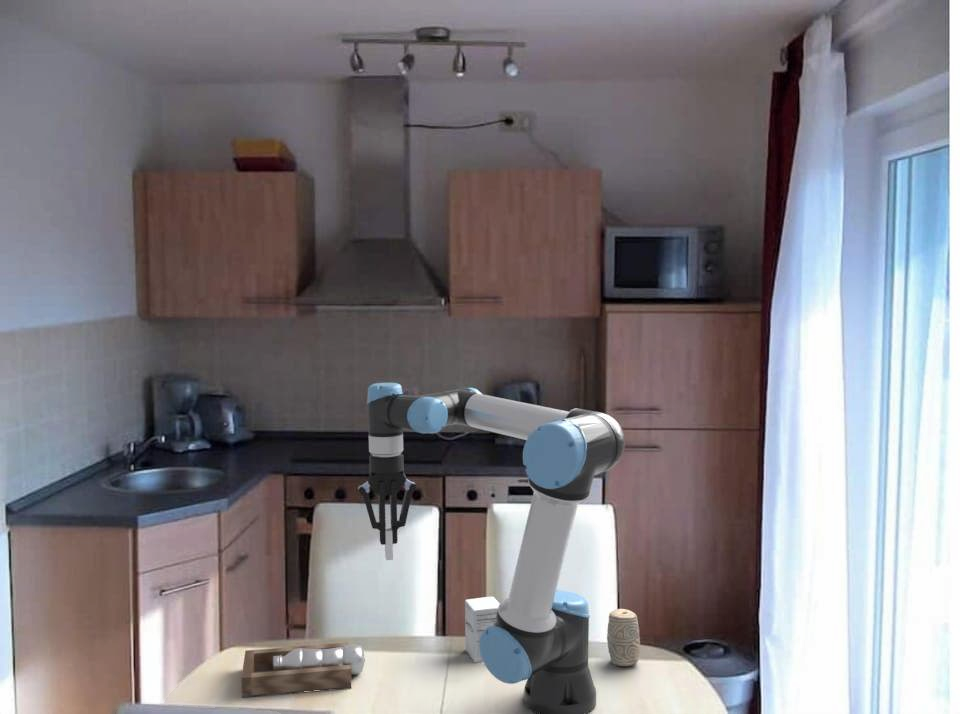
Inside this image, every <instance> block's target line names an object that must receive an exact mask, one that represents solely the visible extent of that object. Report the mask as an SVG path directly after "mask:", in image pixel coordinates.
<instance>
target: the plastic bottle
mask: <svg viewBox="0 0 960 714" xmlns="http://www.w3.org/2000/svg"><path fill="white" fill-rule="evenodd" d="M365 658H366V656H365V653H364V649H363V646H362V645H360V644H355V643H351V644H348V645H346V646H343V647H337V648H331V649H306V648H303V649H302V648H297V649H294V650H292V651H291V652H289V653H288V654H287V655H286V656H283V657H282V655H280V656H273V671H283V670H295V669H307V668H319V667H331V666H343V665H351V676H355V675H359V674H361V673H362V672H363V669H364V666H365V663H366V659H365Z"/></svg>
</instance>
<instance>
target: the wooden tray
mask: <svg viewBox="0 0 960 714" xmlns="http://www.w3.org/2000/svg"><path fill="white" fill-rule="evenodd" d="M346 645H349V642H338V643H337V642H335V643H326V644H325V643H324V644H314V645H313V644H312V645H300V646H299V645H298V646H288V647H286V646H285V647H273V648H272V647H271V648H263V649H251V650H249V649H246V650H245V652H244V658H243V666H242V672H241V678H240V679H241V698H242V699H246V698H255V697H256V698H257V696H258V697H268V695H269V696H278V695H289V693H292V694H299V693H298V692H303V693H305V692H304V691H314V690H326V691H330V690H329V689H337V690H345V689H344V688H349V689H352V675H351V665H343V666H331V667H319V668H307V669H295V670H283V671H273V656H280V655H282V657H283V656H286V655H287V654H288V653H289V652H291V651H292V650H294V649H297V648H302V649H303V648H306V649H331V648H337V647H343V646H346Z"/></svg>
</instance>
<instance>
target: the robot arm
mask: <svg viewBox="0 0 960 714" xmlns="http://www.w3.org/2000/svg"><path fill="white" fill-rule="evenodd" d="M402 388H403V387H402V385H401V384H400V383H397V382H377V383H376V382H375V383H373V384H371V385H369V386H368V388H367V401H366V405H367V426H368V428H367V429H368V430H367V431H368V452H369V453H370V454H369V456H368V461H369V474H368V476H367V479H366V480H367V481H366V482H364V483H363V484H359V485H358V487H357V489H358V492H359V493H360V495H361V496H362V497H363V500H364V504H365V507H366V510H367V514H368V517H369V518H368V519H369V521H370V525H371V527H372V528H371V529H374V530H379V542H380V544H381V546H382V545H384V557H385V560H386V561H393V560H394V547H393V546H394V544H395V545H396V544H397V543H398V530H399V529H400V528H402V527H403V528H404V527H405V526H406V523H407V518H408V514H409V509H410V505H411V501H412V495H413V493H414V492H415V490H416V489H417V485H416V483H415V481H411V480H409V479H408V478H407V476H406V474H405V468H404V467H405V466H404V465H405V463H404V461H405V460H404V457H405V456H404V454H403V453H402V452H403V451H404V431H408V432H415V433H418V434H419V433H420V434H424V435H425V434H437V433H439V432H440V431H441V430H442V429H444V428H446V427H449V426H453V425H461V426H466V427H470V428H473V429H474V428H475V429H479V430H483V431H487V432H492V433H495V434H500V435H504V436H509V437H513V438H516V439H521V440H525V443H524V447H523V450H522V464H523V466H525V468H526V469H525V473H526V475H527V477H528V482H527V483H528V485H529V487H530V489H532V491H533V494H532V498H531V502H530V506H529V511H528V516H527V519H526V524H525V527H524V528H525V529H524V531H523V536H522V541H521V545H520V548H519V552H518V557H517V561H516V565H515V569H514V573H513V578H512V582H511V586H510V591H509V593H508V597H507V598H505V599H502V601H500V602H499V603H500V604H499V607H498V611H497V615H496V619H495V623H494V625H493V626H489V627H487V628H486V630H484V631H483V632H482V634H481V636H480V639H479V651H480V655H481V658H482V660H483V661H482V662H483V663H484V666H485V668H486V669H487V670H488V672H489V673H490V674H491V675H492V676H493V677H494V678H496V679H497V680H498V681H500V682H502V683H505V684H508V685H509V684H510V685H513V684H518V683H520V682H523V681H525V685H524V689H523V703H524V704H525V706H526V707H527V708H528V709H530V711H533V712H535V713H536V714H538V713H540V714H588V713H589V711H590V712H591V711H593V710H594V709H595V707H596V705H597V691H596V687H595V684H594V680H593V676H592V674H591V671H590V667H589V637H590V636H589V634H590V633H589V627H590V623H589V622H590V614H589V602H588V601H587V599H586V598H585V597H584V596H582V595H580V594H578V593H576V592H571V591H567V590H561V589H560V590H559V589H557V588H558V584H559V580H560V577H561V574H562V573H561V572H562V568H563V564H564V561H565V557H566V553H567V550H568V545H569V541H570V538H571V533H572V531H573V530H572V529H573V525H574V521H575V517H576V513H577V509H578V505H579V504H580V503H582V502H584V501H585V500H587V499H588V498H589V496H590V492H591V488H592V485H593V481H594V476H596V475H599V474H602V473H606V472H607V471H609V470H611V469H612V468H614V467H615V466H616V465H617V464H618V463H619V462H620V460H621V459H622V457H623V454H624V451H625V446H626V439H625V435H624V431H623V429H622V427H621V425H620V423H618V421H617V420H616V419H615V418H614V417H612V416H611V415H608V414H606V413H604V412H600V411H593V410H588V409H583V408H577V407H576V408H573V409H570V411H567V410H562V409H557V408H552V407H548V406H547V407H546V406H542V405H538V404H532V403H527V402H522V401H517V400H512V399H506V398H504V397H503V398H501V397H499V396H498V397H497V396H494V395H493V396H492V395H488V394H483V393H482V392H480V391H479V390H478V389H477V388H474V387H460V388H457V389H453V390H445V391H442V392H435V393H426V394H423V395H409V394H404V392H403V389H402ZM403 486H404V490H405V491H404V495H403V499H402V504H401V509H400V512H399V513H400V514H399V517H398V507H397V506H398V503H397V501H398V500H397V499H398V497H397V496H398V495H397V494H399V492H400V491H401V490H402V488H403ZM370 487H371V488H372V490H373V491H374V492H375V494H376V495H377V498H378V521H377V519H376V516H375V513H374V509H373V508H374V507H373V506H372V500H371V498H370V496H369V493H370ZM386 496H389V507H390V527H386Z"/></svg>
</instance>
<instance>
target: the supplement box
mask: <svg viewBox="0 0 960 714" xmlns="http://www.w3.org/2000/svg"><path fill="white" fill-rule="evenodd" d="M464 603H465V604H464V605H465V607H464V610H465V615H464V616H465V618H464V619H465V621H464V623H465V625H464V626H465V628H464V629H465V631H464V632H465V635H464V636H465V641H464V643H465V651H466V652H467V653H468V654H469V656H470V657H471V659H472V661H473V662H474V663H480V661H482V662H484V661H483V660H482V658H481V655H480V651H479V639H480V636H481V634H482V632H483V631H484V630H486V628H487V627H489V626H493V625H494V623H495V619H496V615H497V611H498V607H499V604H500V603H501V602H499V601H498V600H497V599H496V598H495V597H494V596H483V597H477V598H469V599H465V600H464Z"/></svg>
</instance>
